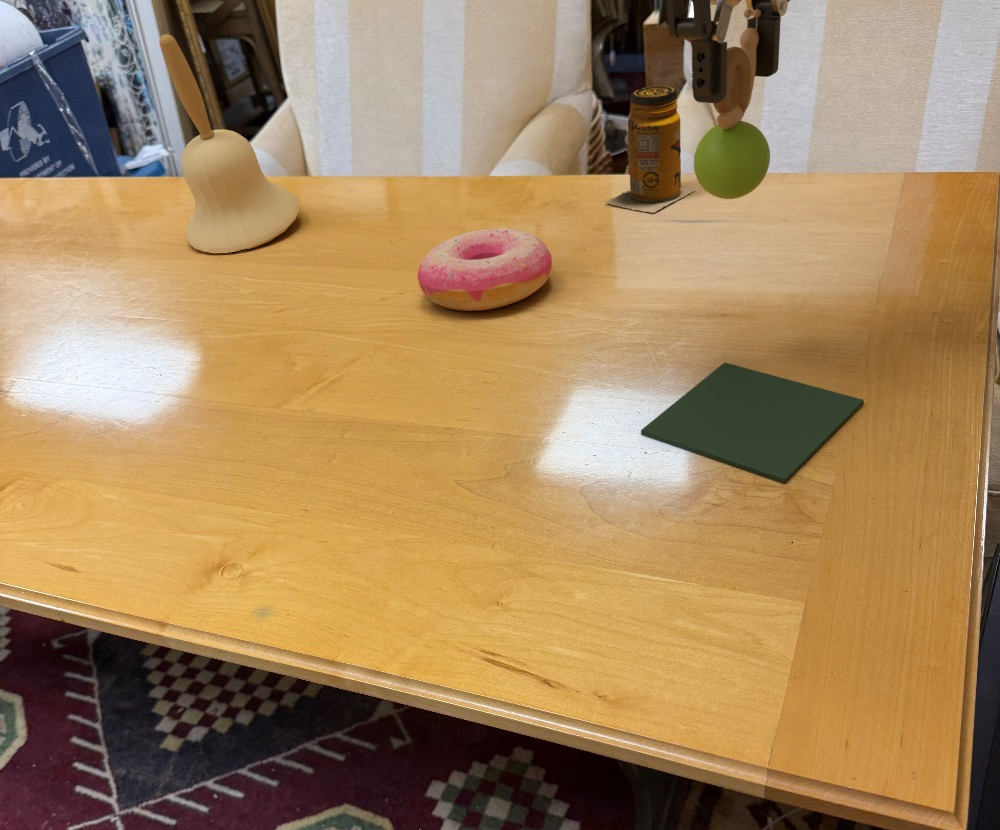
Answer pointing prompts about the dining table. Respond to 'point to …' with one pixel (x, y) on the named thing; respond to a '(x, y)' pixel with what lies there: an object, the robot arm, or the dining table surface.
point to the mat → (753, 420)
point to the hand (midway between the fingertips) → (736, 87)
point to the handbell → (224, 177)
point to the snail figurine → (734, 129)
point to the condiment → (653, 151)
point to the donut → (484, 269)
